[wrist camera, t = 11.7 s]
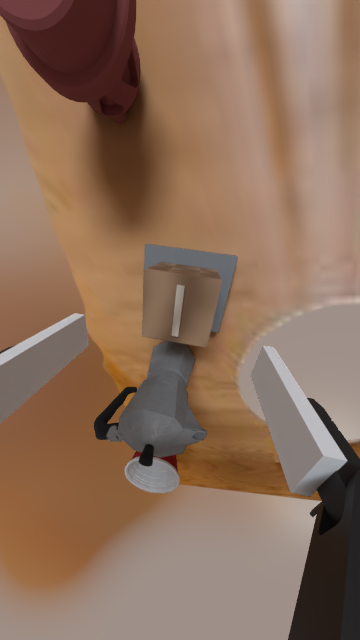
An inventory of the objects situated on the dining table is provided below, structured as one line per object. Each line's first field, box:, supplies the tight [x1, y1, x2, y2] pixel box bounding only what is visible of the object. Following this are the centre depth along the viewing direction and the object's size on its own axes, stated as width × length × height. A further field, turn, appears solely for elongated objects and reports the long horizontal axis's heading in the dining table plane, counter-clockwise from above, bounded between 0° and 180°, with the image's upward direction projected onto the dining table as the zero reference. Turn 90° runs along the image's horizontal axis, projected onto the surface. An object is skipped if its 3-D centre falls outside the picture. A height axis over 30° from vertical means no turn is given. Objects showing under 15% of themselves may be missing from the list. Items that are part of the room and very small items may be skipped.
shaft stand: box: [144, 244, 238, 333], centre depth 24 cm, size 13×12×8 cm
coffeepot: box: [94, 341, 207, 467], centre depth 26 cm, size 15×9×18 cm, turn 99°
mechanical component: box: [0, 0, 140, 124], centre depth 13 cm, size 12×10×10 cm
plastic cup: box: [125, 451, 180, 493], centre depth 37 cm, size 11×11×12 cm
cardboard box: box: [142, 262, 222, 348], centre depth 22 cm, size 8×8×8 cm
